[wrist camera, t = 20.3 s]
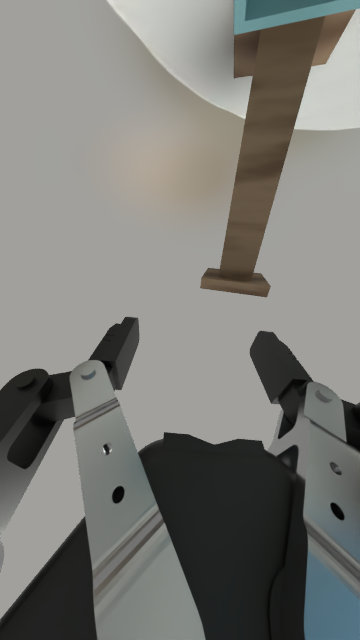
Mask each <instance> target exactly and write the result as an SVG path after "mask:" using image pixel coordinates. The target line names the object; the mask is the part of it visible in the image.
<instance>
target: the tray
mask: <svg viewBox="0 0 360 640" xmlns="http://www.w3.org/2000/svg"><path fill="white" fill-rule="evenodd" d="M359 8H360V0H234V35H237V34H241V33H246V32H251V31H255V30H260V29H265V28H270V27H274V26H279V25H284V24H288V23H293V22H298V21H302V20H307V19H312V18H316V17H321V16H326V15H331V14H335V13H340V12H345V11H349V10H354V9H359Z"/></svg>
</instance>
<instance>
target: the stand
mask: <svg viewBox="0 0 360 640" xmlns="http://www.w3.org/2000/svg"><path fill="white" fill-rule="evenodd" d="M355 10H356V9H354V10H349V11H345V12H340V13H335V14H331V15H326V16H321V17H316V18H312V19H307V20H302V21H298V22H293V23H288V24H284V25H279V26H274V27H270V28H265V29H260V30H255V31H251V32H246V33H241V34H237V35H234V78H238V77H245V76H251V75H253V79H252V85H251V91H250V96H249V102H248V108H247V114H246V120H245V125H244V132H243V137H242V143H241V149H240V154H239V160H238V166H237V172H236V178H235V184H234V189H233V195H232V201H231V207H230V213H229V219H228V225H227V230H226V236H225V242H224V248H223V254H222V259H221V265H220V269H213V268H208V269H207V270H206V272H205V273H204V275H203V276H202V278H201V287H200V288H203V289H211V290H218V291H226V292H232V293H239V294H247V295H255V296H261V297H267V295H268V292H269V289H270V285H269V284H268V282H267V281H266V279H265V278H264V277H263V275H262V274H260V273H253V272H254V268H255V265H256V261H257V258H258V254H259V250H260V246H261V243H262V240H263V236H264V233H265V229H266V225H267V222H268V218H269V215H270V211H271V207H272V204H273V200H274V197H275V193H276V190H277V186H278V183H279V179H280V175H281V172H282V168H283V165H284V161H285V158H286V154H287V151H288V147H289V143H290V140H291V136H292V133H293V129H294V126H295V122H296V118H297V115H298V111H299V108H300V104H301V101H302V97H303V94H304V90H305V86H306V83H307V79H308V76H309V72H310V69H311V66H316V65H322V64H326V62H327V60H328V59H329V57H330V55H331V53H332V51H333V50H334V48H335V46H336V44H337V42H338V41H339V39H340V37H341V35H342V33H343V32H344V30H345V28H346V26H347V24H348V23H349V21H350V19H351V17H352V15H353V14H354V12H355Z"/></svg>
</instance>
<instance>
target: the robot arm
mask: <svg viewBox="0 0 360 640" xmlns="http://www.w3.org/2000/svg"><path fill="white" fill-rule="evenodd" d="M138 343H139V323H138V318H133V317H125V318H124V320H123V321H122V323H121V324H115V325H113V326H112V327H111V328H109V330H108V331H107V333H106V335H105V336H104V337H103V339H102V341H101V342H100V343H99V345H98V346H97V348H96V349H95V351H94V352H93V354H92V355H91V357H90V359H89V360H88V361H85V362H83V363H81V364H79V365H78V366H76V367H75V368H74V369H73V371H70V372H66V373H59V374H53V375H49V374H48V373H47V372H46V371H45V370H43V369H31V370H28V371H25V372H22V373H20V374H19V375H17V376H15V377H14V378H12V379H11V380H10V381H9V382H8V383H7V384H6V385H5V386H4V387H3V388H2V389H1V390H0V538H1V535H2V534H3V532H4V530H5V528H6V527H7V525H8V523H9V521H10V519H11V517H12V515H13V514H14V512H15V510H16V508H17V506H18V504H19V502H20V500H21V499H22V497H23V495H24V493H25V491H26V489H27V487H28V486H29V484H30V482H31V480H32V478H33V476H34V474H35V472H36V470H37V469H38V467H39V465H40V463H41V461H42V459H43V458H44V456H45V454H46V452H47V450H48V448H49V446H50V444H51V443H52V441H53V439H54V437H55V435H56V433H57V431H58V429H59V428H60V426H61V424H62V422H63V420H64V419H67V418H71V417H76V422H74V426H73V429H74V437H75V445H76V453H77V460H78V467H79V475H80V481H81V489H82V496H83V504H84V511H85V517H84V518H83V519H82V520H81V522H80V523H79V524H78V525H77V526H76V528H75V529H74V530H73V531H72V533H71V534H70V535H69V536H68V537H67V539H66V540H65V541H64V542H63V543H62V545H61V546H60V547H59V548H58V550H57V551H56V552H55V553H54V554H53V556H52V557H51V558H50V559H49V561H48V562H47V563H46V564H45V565H44V567H43V568H42V569H41V570H40V572H39V573H38V574H37V575H36V576H35V578H34V579H33V580H32V582H31V583H30V584H29V585H28V586H27V587H26V589H25V590H24V591H23V592H22V594H21V595H20V596H19V597H18V599H17V600H16V601H15V602H14V603H13V605H12V606H11V607H10V608H9V609H8V611H7V612H6V613H5V614H4V616H3V617H2V618H1V619H0V640H360V403H358V404H357V405H355V404H352V403H349V402H346V401H344V400H341V399H340V398H339V397H338V395H337V394H336V393H335V392H333V391H332V390H331V389H330V388H328V387H327V386H325V385H323V384H321V383H317V382H314V381H313V380H312V379H311V377H309V375H308V374H307V372H306V371H305V369H304V368H303V367H302V365H301V364H300V363H299V361H298V360H296V357H295V356H294V355H293V354H292V352H291V351H290V349H289V348H288V347H287V346H286V345H285V344H284V343H282V342H281V341H279V339H278V338H277V336H276V335H275V334H274V333H273V332H266V331H260V332H258V334H257V336H256V338H255V340H254V342H253V344H252V346H251V348H250V356H251V358H252V361H253V363H254V365H255V368H256V370H257V372H258V375H259V377H260V379H261V382H262V384H263V386H264V388H265V390H266V393H267V395H268V398H269V400H270V402H271V404H280V405H281V407H282V410H281V412H280V415H279V419H278V423H277V427H276V431H275V435H274V439H273V442H272V444H271V446H270V447H269V449H268V451H266V450H265V449H264V446H263V444H262V441H255V440H245V439H236V440H232V441H228V442H224V443H220V444H216V445H214V444H211V443H208V442H206V441H203V440H201V439H198V438H196V437H193V436H191V435H188V434H177V433H165V432H164V438H163V439H161V440H158V441H155V442H153V443H151V444H149V445H147V446H145V447H144V448H143V449H142V450H140V451H139V452H137V449H136V447H135V444H134V441H133V439H132V436H131V433H130V431H129V428H128V425H127V422H126V420H125V417H124V415H123V412H122V409H121V407H120V404H119V402H118V400H117V398H116V396H115V393H114V391H115V389H116V390H121V389H122V387H123V384H124V381H125V379H126V376H127V373H128V370H129V368H130V365H131V363H132V360H133V357H134V354H135V352H136V349H137V346H138ZM3 558H4V548H3V545H2V543H1V541H0V571H1V568H2V564H3Z"/></svg>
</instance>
